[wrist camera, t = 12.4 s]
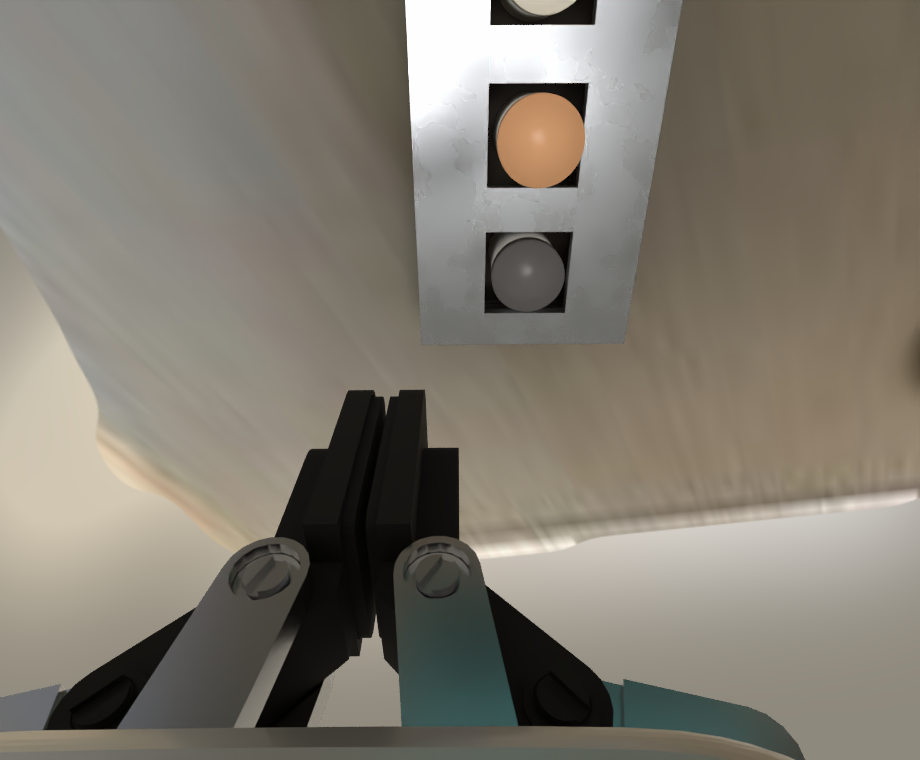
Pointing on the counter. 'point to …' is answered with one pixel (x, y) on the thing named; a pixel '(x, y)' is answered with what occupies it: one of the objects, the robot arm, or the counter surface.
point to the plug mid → (538, 138)
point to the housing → (523, 208)
